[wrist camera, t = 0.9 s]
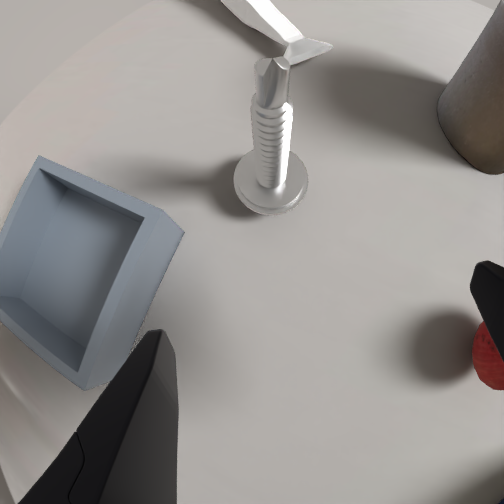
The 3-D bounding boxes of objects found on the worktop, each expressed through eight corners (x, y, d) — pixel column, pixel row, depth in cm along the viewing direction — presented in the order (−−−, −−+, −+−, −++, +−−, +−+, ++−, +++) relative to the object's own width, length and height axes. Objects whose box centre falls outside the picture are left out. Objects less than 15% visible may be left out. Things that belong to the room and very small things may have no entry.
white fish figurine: (233, -20, 28) (231, -44, 24) (332, 63, 25) (339, 34, 21) (192, -5, 27) (186, -30, 24) (283, 83, 25) (285, 53, 21)
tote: (119, 377, 21) (84, 391, 16) (17, 302, 22) (-23, 297, 17) (184, 232, 22) (163, 210, 17) (71, 179, 24) (38, 155, 19)
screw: (223, 200, 23) (259, 149, 23) (282, 236, 22) (317, 180, 23) (176, 78, 10) (251, 8, 10) (300, 134, 9) (360, 50, 10)
